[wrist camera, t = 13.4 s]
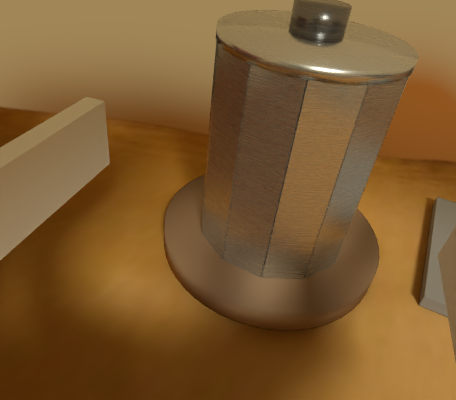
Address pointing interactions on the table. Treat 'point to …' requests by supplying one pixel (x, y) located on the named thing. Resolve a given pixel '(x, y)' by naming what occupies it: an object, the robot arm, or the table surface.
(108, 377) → the table surface
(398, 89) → the metal canister with knob
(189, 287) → the plate
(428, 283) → the mat
